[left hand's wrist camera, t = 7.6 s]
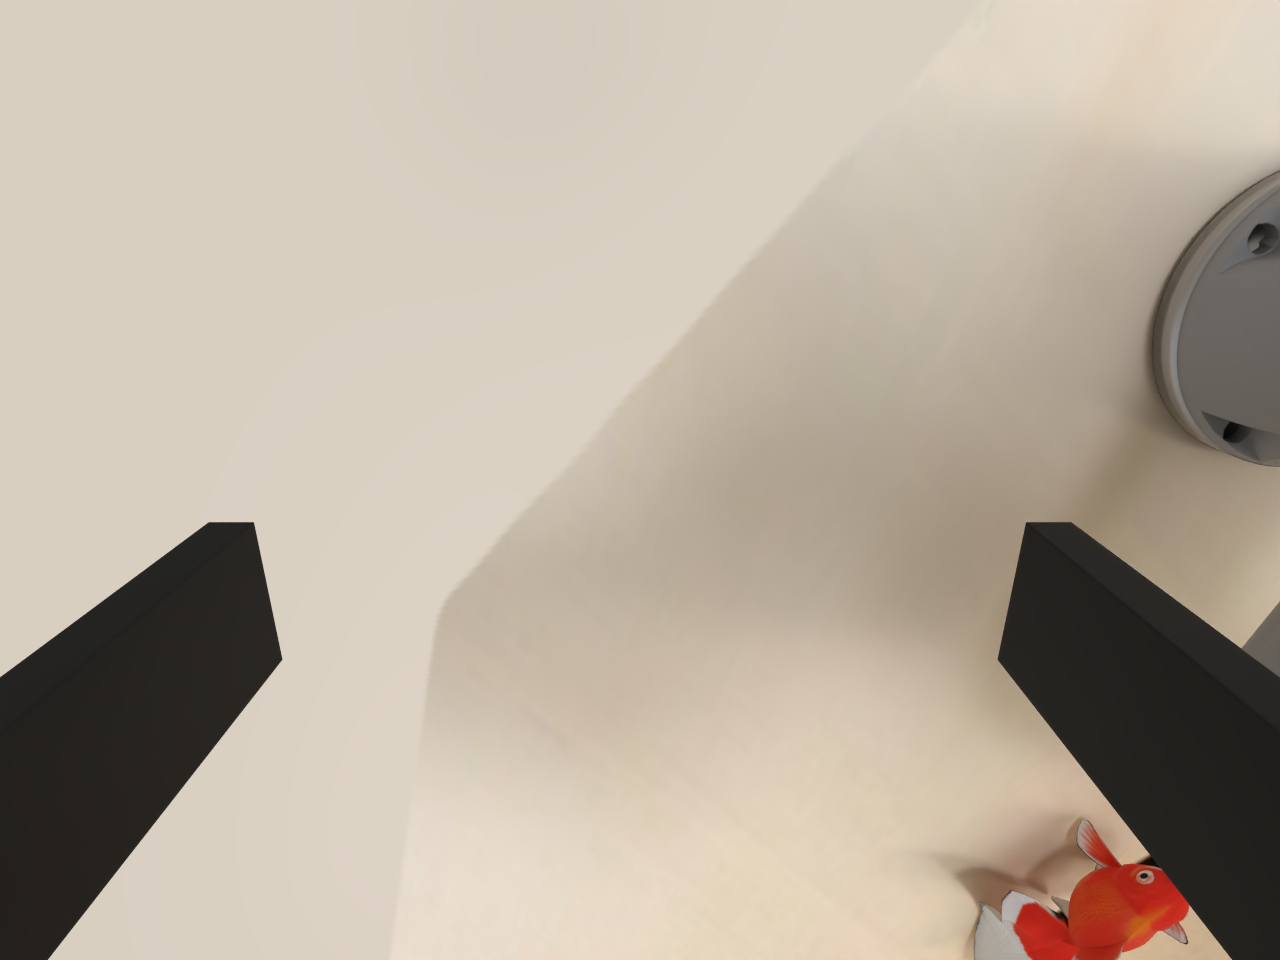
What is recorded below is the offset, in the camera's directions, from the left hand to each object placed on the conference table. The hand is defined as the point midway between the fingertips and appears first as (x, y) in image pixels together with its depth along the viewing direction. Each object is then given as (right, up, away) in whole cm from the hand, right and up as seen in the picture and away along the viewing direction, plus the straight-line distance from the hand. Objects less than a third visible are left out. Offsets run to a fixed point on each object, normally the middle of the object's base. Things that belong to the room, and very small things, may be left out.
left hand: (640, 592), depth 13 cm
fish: (+28, -26, +39) cm, 55 cm away
